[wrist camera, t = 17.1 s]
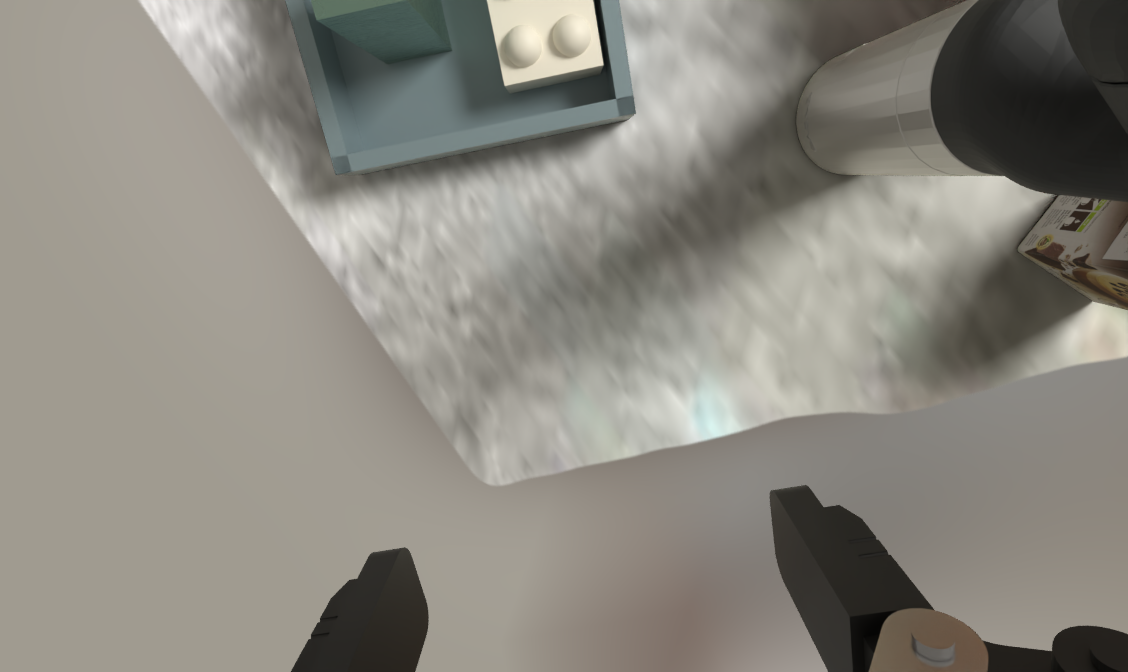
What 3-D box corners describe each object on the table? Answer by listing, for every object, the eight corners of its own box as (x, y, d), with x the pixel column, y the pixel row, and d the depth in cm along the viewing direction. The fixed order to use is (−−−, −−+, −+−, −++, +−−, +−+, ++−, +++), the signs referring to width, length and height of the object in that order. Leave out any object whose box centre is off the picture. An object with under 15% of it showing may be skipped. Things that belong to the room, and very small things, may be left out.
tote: (582, -181, 40) (584, -230, 35) (628, 119, 45) (635, 113, 40) (279, -111, 41) (242, -148, 36) (359, 174, 46) (335, 174, 42)
